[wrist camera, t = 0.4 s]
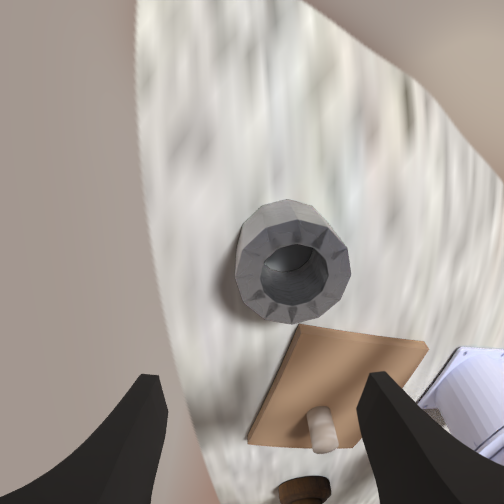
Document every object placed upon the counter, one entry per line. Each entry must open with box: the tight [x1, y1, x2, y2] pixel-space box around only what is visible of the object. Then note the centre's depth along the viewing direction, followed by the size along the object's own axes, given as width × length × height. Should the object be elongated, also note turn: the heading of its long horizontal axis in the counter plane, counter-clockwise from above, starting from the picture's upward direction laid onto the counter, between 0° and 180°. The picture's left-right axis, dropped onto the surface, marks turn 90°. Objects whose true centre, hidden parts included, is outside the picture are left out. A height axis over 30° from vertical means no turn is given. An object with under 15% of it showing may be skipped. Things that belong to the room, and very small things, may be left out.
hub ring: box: [235, 199, 351, 324], centre depth 16 cm, size 5×5×4 cm
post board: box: [247, 324, 429, 454], centre depth 21 cm, size 11×14×5 cm
